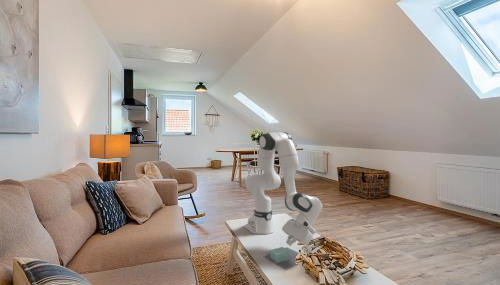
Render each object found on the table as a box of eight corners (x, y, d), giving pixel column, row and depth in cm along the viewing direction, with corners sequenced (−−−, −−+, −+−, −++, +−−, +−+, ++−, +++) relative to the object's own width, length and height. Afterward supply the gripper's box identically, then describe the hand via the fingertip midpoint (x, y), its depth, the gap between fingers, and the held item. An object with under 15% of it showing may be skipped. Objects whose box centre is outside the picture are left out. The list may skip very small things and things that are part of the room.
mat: (263, 257, 131) (263, 256, 131) (286, 248, 142) (286, 247, 142) (285, 271, 118) (285, 270, 118) (310, 259, 128) (310, 258, 128)
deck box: (282, 254, 134) (270, 257, 130) (282, 246, 134) (270, 249, 130) (289, 259, 128) (276, 262, 124) (289, 251, 128) (276, 255, 124)
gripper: (288, 214, 144) (274, 234, 140) (311, 226, 125) (296, 248, 121) (294, 220, 146) (280, 240, 142) (318, 233, 128) (303, 255, 123)
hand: (287, 244), depth 131 cm, fingers closed
